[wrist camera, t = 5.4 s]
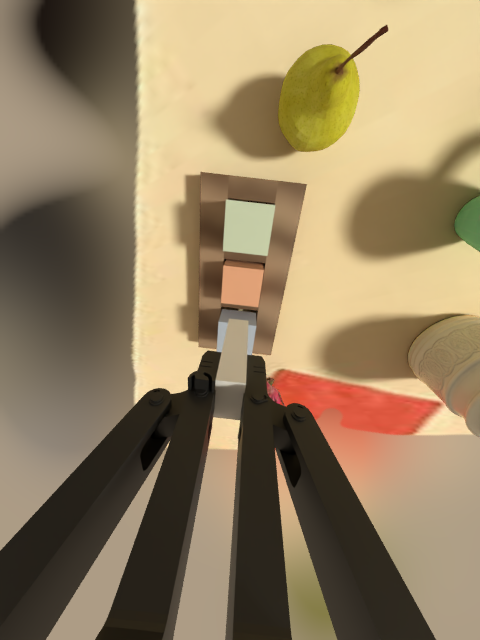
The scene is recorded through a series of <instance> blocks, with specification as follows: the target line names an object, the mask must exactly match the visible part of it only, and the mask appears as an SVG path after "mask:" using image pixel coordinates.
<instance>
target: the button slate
mask: <svg viewBox="0 0 480 640" xmlns="http://www.w3.org/2000/svg"><path fill="white" fill-rule="evenodd" d="M229 319H238V320H247V321H248V346H247V355H252V350H253V344H254V338H255V332H256V313H253V312H245V311H236V310H227V309H222V312H221V315H220V318H219V322H218V338H217V352H222V348H223V344H224V339H225V335H226V330H227V325H228V321H229Z"/></svg>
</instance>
